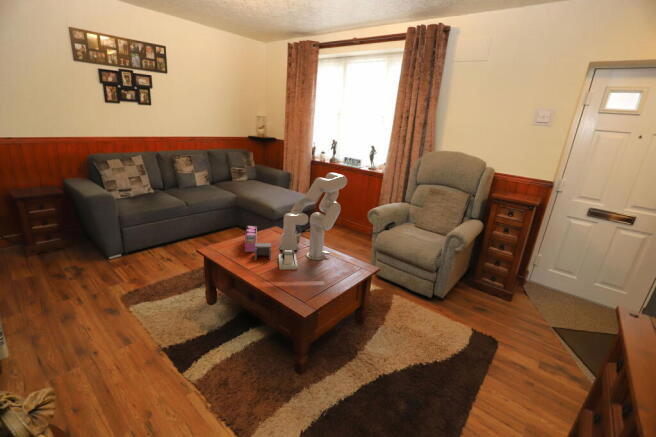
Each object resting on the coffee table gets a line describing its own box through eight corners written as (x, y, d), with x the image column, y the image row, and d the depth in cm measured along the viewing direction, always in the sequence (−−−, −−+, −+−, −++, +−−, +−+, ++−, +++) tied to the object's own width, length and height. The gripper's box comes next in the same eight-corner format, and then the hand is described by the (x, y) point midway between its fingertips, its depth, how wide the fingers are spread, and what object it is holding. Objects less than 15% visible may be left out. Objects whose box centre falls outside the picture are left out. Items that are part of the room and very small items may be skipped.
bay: (270, 254, 216) (270, 243, 214) (270, 259, 208) (271, 247, 206) (255, 254, 214) (255, 243, 212) (254, 259, 206) (254, 247, 204)
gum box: (246, 240, 238) (247, 224, 234) (256, 240, 239) (257, 225, 236) (244, 252, 217) (244, 234, 213) (255, 252, 218) (256, 235, 215)
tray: (295, 257, 215) (295, 254, 214) (297, 269, 198) (297, 265, 197) (278, 257, 213) (278, 254, 212) (279, 269, 195) (279, 265, 195)
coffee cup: (298, 250, 227) (299, 231, 223) (283, 248, 229) (284, 228, 225) (302, 245, 238) (304, 226, 234) (288, 243, 240) (289, 224, 236)
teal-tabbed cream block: (290, 256, 212) (291, 247, 210) (292, 264, 199) (293, 255, 198) (283, 256, 211) (283, 247, 209) (284, 264, 198) (285, 255, 197)
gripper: (302, 231, 204) (300, 256, 209) (275, 230, 201) (274, 256, 206) (303, 234, 197) (301, 261, 202) (275, 234, 194) (274, 261, 199)
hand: (287, 258), depth 204 cm, fingers closed on teal-tabbed cream block, 4 cm apart
